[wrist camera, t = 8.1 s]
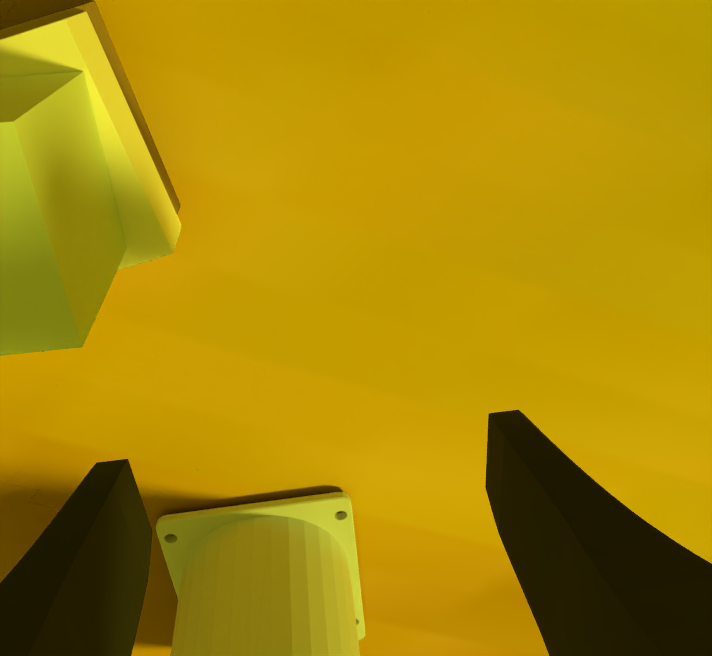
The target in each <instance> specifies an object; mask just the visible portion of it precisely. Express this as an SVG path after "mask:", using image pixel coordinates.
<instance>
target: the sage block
mask: <svg viewBox="0 0 712 656" xmlns="http://www.w3.org/2000/svg"><path fill="white" fill-rule="evenodd" d="M126 250H127V248H126V244H125V240H124V236H123V232H122V228H121V223H120V219H119V215H118V211H117V207H116V203H115V199H114V195H113V190H112V186H111V182H110V178H109V174H108V170H107V166H106V162H105V157H104V153H103V149H102V145H101V141H100V137H99V133H98V129H97V125H96V120H95V116H94V112H93V108H92V104H91V100H90V96H89V92H88V87H87V83H86V79H85V75H84V71H81V72H67V73H52V74H38V75H24V76H10V77H0V355H9V354H19V353H29V352H39V351H49V350H59V349H69V348H79V347H82V346H83V344H84V342H85V340H86V338H87V335H88V333H89V331H90V329H91V327H92V324H93V322H94V320H95V318H96V316H97V313H98V311H99V309H100V307H101V305H102V302H103V300H104V298H105V296H106V294H107V291H108V289H109V287H110V285H111V283H112V280H113V278H114V276H115V274H116V272H117V269H118V267H119V265H120V263H121V261H122V258H123V256H124V254H125V252H126Z"/></svg>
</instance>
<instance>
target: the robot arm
mask: <svg viewBox="0 0 712 656" xmlns="http://www.w3.org/2000/svg"><path fill="white" fill-rule="evenodd" d="M486 491H487V494H488V498H489V501H490V505H491V509H492V512H493V516H494V519H495V522H496V526H497V529H498V532H499V535H500V537H501V540H502V542H503V545H504V547H505V550H506V552H507V554H508V557H509V559H510V561H511V564H512V566H513V569H514V571H515V573H516V576H517V578H518V580H519V583H520V585H521V587H522V590H523V592H524V594H525V597H526V599H527V601H528V604H529V606H530V609H531V611H532V613H533V616H534V618H535V620H536V623H537V625H538V627H539V630H540V632H541V635H542V637H543V640H544V643H545V645H546V648H547V650H548V653H549V656H712V564H711V563H709V562H708V561H706V560H704V559H703V558H701V557H699V556H697V555H696V554H694V553H693V552H691V551H689V550H688V549H686V548H685V547H683V546H681V545H680V544H678V543H677V542H675V541H674V540H672V539H671V538H669V537H668V536H666V535H665V534H663V533H662V532H660V531H659V530H658V529H656V528H655V527H653V526H652V525H650V524H649V523H647V522H646V521H644V520H643V519H642V518H640V517H639V516H638V515H636V514H635V513H634V512H632V511H631V510H630V509H629V508H627V507H626V506H625V505H624V504H622V503H621V502H620V501H618V500H617V499H616V498H615V497H613V496H612V495H611V494H610V493H608V492H607V491H606V490H605V489H604V488H602V487H601V486H600V485H599V484H598V483H597V482H595V481H594V480H593V479H592V478H591V477H590V476H589V475H587V474H586V473H585V472H584V471H583V470H582V469H581V468H580V467H578V466H577V465H576V464H575V463H574V462H573V461H572V460H571V459H569V458H568V457H567V456H566V455H565V454H564V453H563V452H562V451H561V450H560V449H559V448H558V447H557V446H556V445H555V444H554V443H552V442H551V441H550V440H549V439H548V438H547V437H546V436H545V435H544V434H543V433H542V432H541V431H540V430H539V429H538V428H537V427H536V426H535V425H534V424H533V423H532V422H531V421H530V420H529V419H528V418H527V417H526V416H525V415H524V414H523V413H522V412H520V411H519V410H513V411H505V412H497V413H489V419H488V442H487V465H486ZM339 511H344V512H342V513H337V512H339ZM156 533H157V536H158V539H159V542H160V545H161V548H162V551H163V555H164V558H165V561H166V564H167V567H168V570H169V573H170V576H171V579H172V583H173V586H174V589H175V592H176V595H177V598H178V605H177V612H176V619H175V626H174V633H173V640H172V648H171V655H170V656H360V650H359V642H358V641H359V640H361V639H363V638H364V636H365V625H364V616H363V606H362V597H361V587H360V578H359V569H358V559H357V550H356V540H355V531H354V522H353V512H352V503H351V498H350V496H349V495H348V494H347V493H344V492H334V493H326V494H319V495H311V496H304V497H296V498H289V499H281V500H274V501H266V502H259V503H251V504H244V505H237V506H229V507H222V508H214V509H207V510H199V511H192V512H184V513H177V514H169V515H164V516H162V517H160V518H159V519H158V521H157V524H156ZM168 534H173V535H174V536H170V535H168ZM151 540H152V529H151V526H150V523H149V520H148V517H147V514H146V511H145V508H144V505H143V502H142V499H141V496H140V493H139V491H138V488H137V485H136V482H135V479H134V476H133V473H132V470H131V467H130V464H129V461H128V459H123V460H115V461H107V462H99V463H96V464H95V465H94V467H93V468H92V469H91V470H90V472H89V473H88V474H87V475H86V477H85V478H84V479H83V481H82V482H81V483H80V485H79V486H78V487H77V489H76V490H75V491H74V493H73V494H72V495H71V497H70V498H69V499H68V501H67V502H66V503H65V505H64V506H63V507H62V509H61V510H60V511H59V512H58V514H57V515H56V516H55V518H54V519H53V520H52V522H51V523H50V524H49V525H48V527H47V528H46V529H45V530H44V532H43V533H42V534H41V535H40V537H39V538H38V539H37V540H36V542H35V543H34V544H33V546H32V547H31V548H30V549H29V551H28V552H27V553H26V554H25V555H24V557H23V558H22V559H21V560H20V561H19V562H18V564H17V565H16V566H15V567H14V568H13V569H12V570H11V572H10V573H9V574H8V575H7V576H6V577H5V579H4V580H3V581H2V582H1V583H0V656H131V654H132V649H133V645H134V640H135V636H136V632H137V627H138V623H139V618H140V614H141V609H142V604H143V600H144V595H145V591H146V586H147V581H148V572H149V563H150V552H151Z"/></svg>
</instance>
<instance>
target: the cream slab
mask: <svg viewBox="0 0 712 656" xmlns="http://www.w3.org/2000/svg"><path fill="white" fill-rule="evenodd" d="M81 71H84V75H85V79H86V83H87V87H88V92H89V96H90V100H91V104H92V108H93V112H94V116H95V120H96V125H97V129H98V133H99V137H100V141H101V145H102V149H103V153H104V157H105V162H106V166H107V170H108V174H109V178H110V182H111V186H112V190H113V195H114V199H115V203H116V207H117V211H118V215H119V219H120V223H121V228H122V232H123V236H124V240H125V244H126V248H127V250H126V252H125V254H124V256H123V258H122V261H121V263H120V265H119V267H118V269H117V270H120V269H123V268H126V267H130V266H133V265H136V264H140V263H143V262H146V261H149V260H153V259H156V258H159V257H163V256H166V255H169V254H172V253H173V252H174V249H175V246H176V243H177V240H178V237H179V234H180V231H181V227H182V225H181V223H180V221H179V218H178V216H177V214H176V212H175V209H174V207H173V205H172V203H171V200H170V198H169V196H168V194H167V191H166V189H165V187H164V185H163V182H162V180H161V178H160V176H159V173H158V171H157V169H156V167H155V164H154V162H153V160H152V158H151V155H150V153H149V151H148V149H147V146H146V144H145V142H144V140H143V137H142V135H141V133H140V131H139V128H138V126H137V124H136V122H135V120H134V117H133V115H132V113H131V111H130V108H129V106H128V104H127V102H126V99H125V97H124V95H123V93H122V90H121V88H120V86H119V84H118V81H117V79H116V77H115V75H114V72H113V70H112V68H111V66H110V63H109V61H108V59H107V57H106V54H105V52H104V50H103V48H102V45H101V43H100V41H99V39H98V36H97V34H96V32H95V30H94V27H93V25H92V23H91V21H90V18H89V16H88V14H87V12H83V13H80V14H77V15H74V16H71V17H67V18H64V19H61V20H58V21H55V22H52V23H49V24H46V25H43V26H40V27H37V28H34V29H31V30H28V31H24V32H21V33H18V34H15V35H12V36H9V37H6V38H3V39H0V77H10V76H24V75H38V74H52V73H67V72H81Z"/></svg>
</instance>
